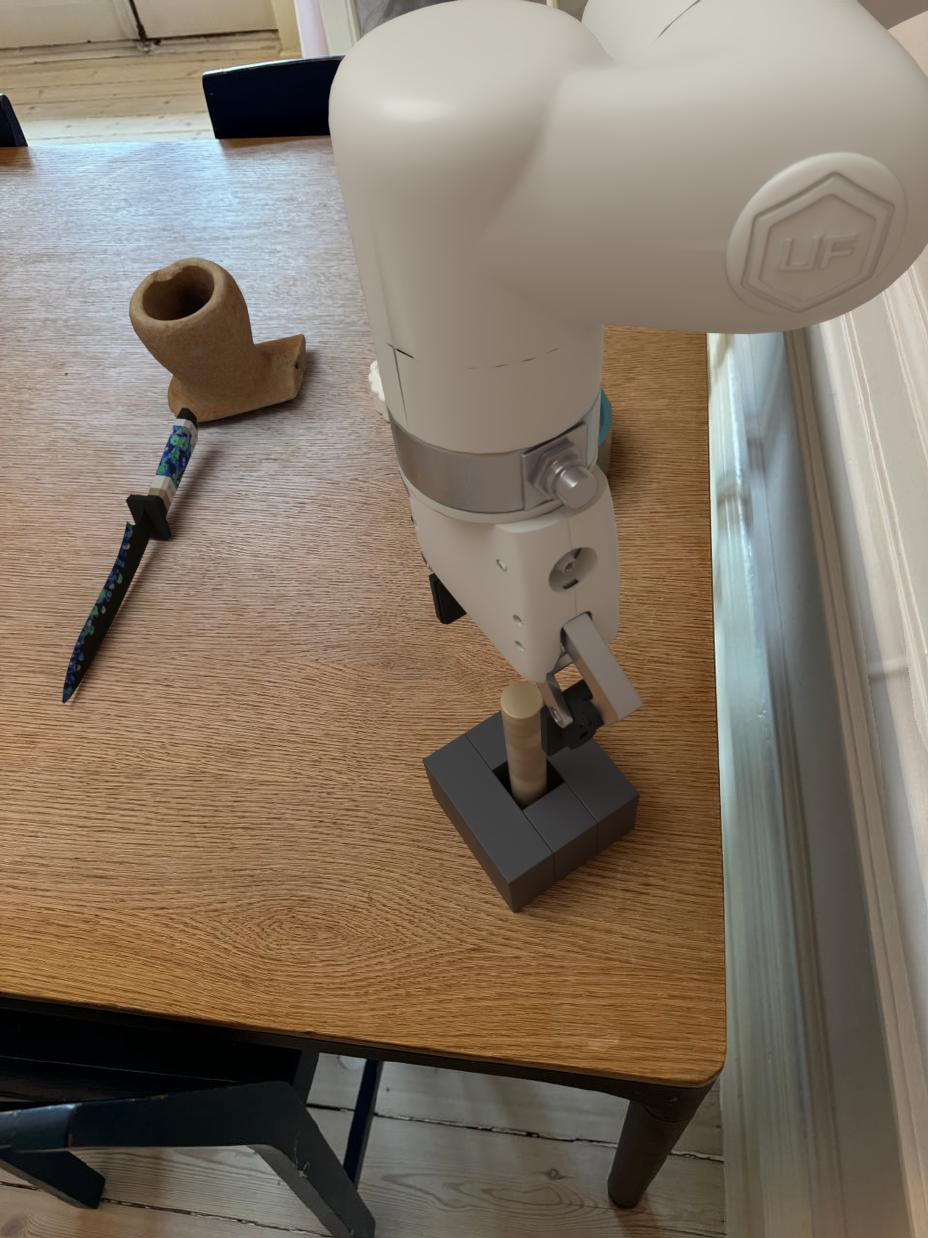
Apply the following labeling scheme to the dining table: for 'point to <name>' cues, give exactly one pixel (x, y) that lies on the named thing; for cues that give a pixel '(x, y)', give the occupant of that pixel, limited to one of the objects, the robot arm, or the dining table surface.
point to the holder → (530, 809)
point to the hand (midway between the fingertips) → (514, 669)
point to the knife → (134, 545)
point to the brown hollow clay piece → (212, 342)
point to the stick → (524, 742)
